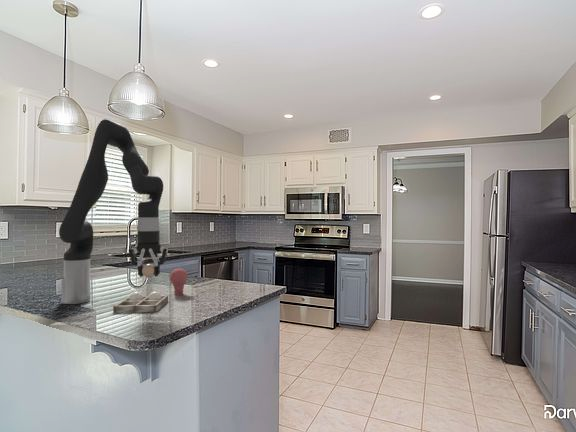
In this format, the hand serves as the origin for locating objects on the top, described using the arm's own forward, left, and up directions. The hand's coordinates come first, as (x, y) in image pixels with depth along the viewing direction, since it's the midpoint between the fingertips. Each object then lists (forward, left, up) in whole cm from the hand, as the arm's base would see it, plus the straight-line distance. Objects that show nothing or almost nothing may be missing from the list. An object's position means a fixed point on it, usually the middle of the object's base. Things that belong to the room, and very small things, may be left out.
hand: (148, 276), depth 124 cm
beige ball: (0, 0, 0) cm, 0 cm away
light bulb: (+5, +22, -13) cm, 26 cm away
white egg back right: (0, +7, -12) cm, 14 cm away
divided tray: (-4, +3, -13) cm, 14 cm away
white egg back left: (-7, +7, -12) cm, 16 cm away
